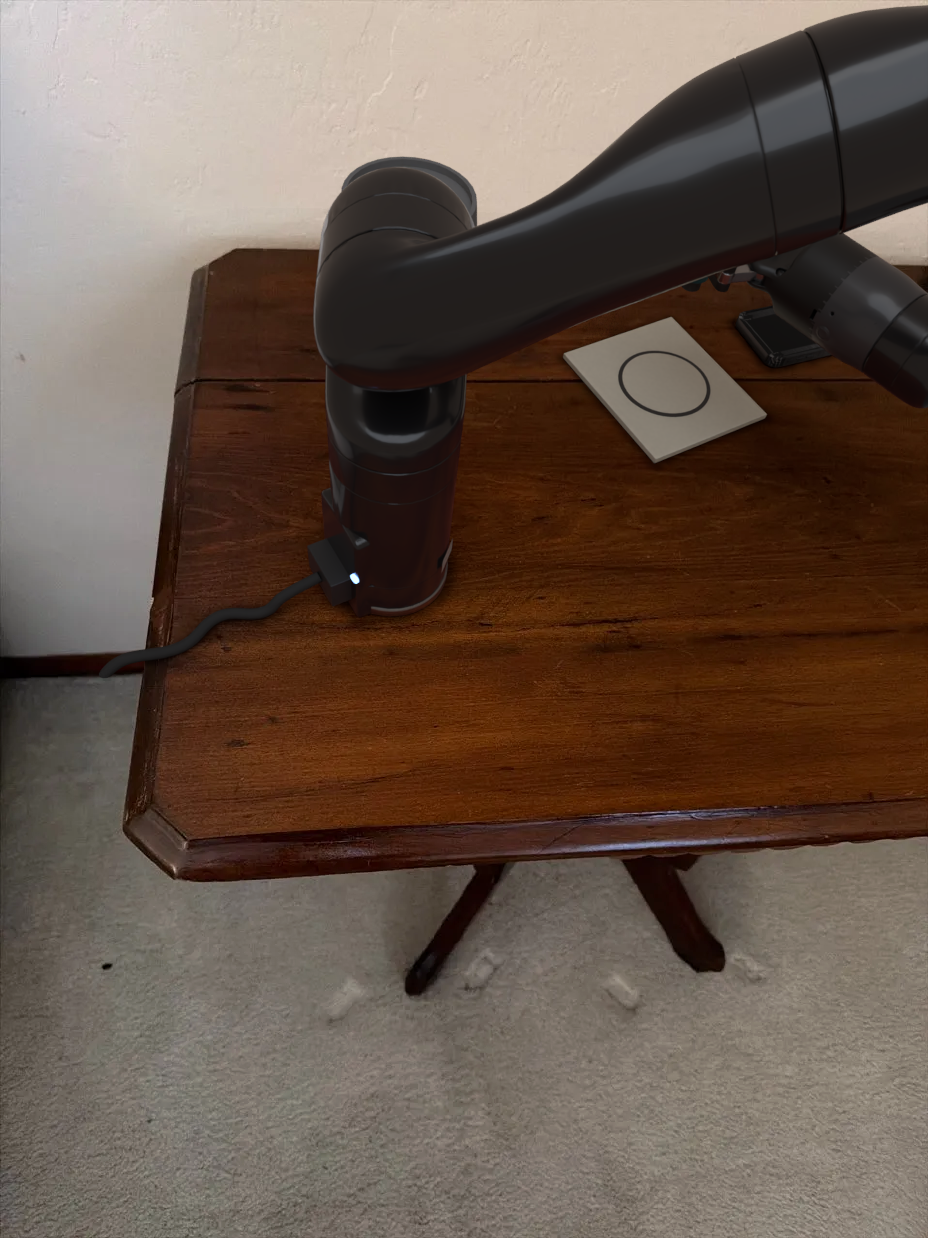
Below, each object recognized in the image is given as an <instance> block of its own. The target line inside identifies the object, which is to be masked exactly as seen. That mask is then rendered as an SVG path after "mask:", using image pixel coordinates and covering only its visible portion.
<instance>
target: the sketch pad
mask: <svg viewBox="0 0 928 1238" xmlns="http://www.w3.org/2000/svg"><path fill="white" fill-rule="evenodd" d="M562 359H563V360H564V361H565V362H566V363H567V364H568V366H569V367H570V368H571V369H572V371H574V373H575V374H576V375H577V376H578V377H579V378H580V379H581V381H582V382H583V383H584V384H585V385H586V386H587V388H588V389H589V390H590V391H591V392H592V393H593V395H594V396H595V397H596V398H597V399H598V400H599V402H601V404H602V405H603V406H604V407H605V408H606V410H608V412H609V413H610V414H611V416H613V417H614V419H615V420H616V421H617V422H618V423H619V425H621V426H622V428H623V429H624V430H625V431H626V433H627V434H628V435H629V436H630V437H631V438H632V440H634V442H635V443H636V444H637V445H638V446H639V447H640V449H641V450H642V451H643V452H644V453H645V454H646V455H647V457H648V458H649V459H650V460H651V462H652V463H653V464H656V463H659V462H661V461H663V460H666V459H669V458H671V457H673V456H676V455H678V454H681V453H683V452H686V451H688V450H692V449H694V448H695V447H698V446H700V445H703V444H706V443H708V442H711V441H713V440H715V439H718V438H720V437H722V436H725V435H728V434H731V433H733V432H735V431H737V430H740V429H742V428H745V427H747V426H750V425H752V424H755V423H757V422H759V421H762V420H764V419H766V417H767V415H768V414H767V413H766V412H765V410H764V409H763V408H762V407H761V406H760V405H758V404H757V402H756V401H755V400H754V399H753V398H752V397H751V396H750V395H749V394H748V393H747V392H746V391H745V390H744V389H743V388H742V387H741V385H739V384H738V383H737V382H736V381H735V380H734V379H733V378H732V377H731V376H730V375H729V374H728V373H727V372H726V371H725V369H724V368H723V367H721V366H720V364H718V362H717V361H716V360H714V358H713V357H712V356H710V355H709V353H708V352H707V351H705V350H704V348H703V347H702V346H701V345H700V344H699V343H698V342H697V341H696V340H695V339H694V338H693V337H692V336H691V335H690V334H689V333H688V331H686V330H685V329H684V327H682V326H681V325H680V324H679V323H678V322H677V321H676V320H675V319H674V317H672V316H670V317H667V318H663V319H660V320H658V321H655V322H652V323H649V324H645V325H643V326H639V327H637V328H634V329H632V330H628V331H626V332H622V333H619V334H617V335H614V336H611V337H608V338H605V339H602V340H599V341H596V342H593V343H591V344H587V345H584V346H582V347H579V348H576V349H573V350H569V351H567V352H564V353H563V355H562Z"/></svg>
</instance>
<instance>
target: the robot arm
mask: <svg viewBox="0 0 928 1238" xmlns="http://www.w3.org/2000/svg"><path fill="white" fill-rule="evenodd" d="M926 204H928V4H925V5H924V4H923V5H907V6H894V7H886V8H878V9H877V8H876V9H868V10H863V11H862V10H861V11H858V12H852V13H847V14H843V15H840V16H837V17H836V16H835V17H833V18H829V19H827V20H824V21H822V22H817V23H816V24H813V25H809V26H808V27H805V28H804V29H802V30H798V31H795V32H793V33H790V34H788V35H786V36H783V37H780V38H778V39H775V40H773V41H771V42H768V43H765V44H763V45H761V46H759V47H756V48H753V49H751V50H748V51H747V52H744V53H741V54H739V55H737V56H735V57H732V58H729V59H727V60H726V61H724V62H721V63H719V64H717V65H715V66H713V67H711V68H709V69H707V70H705V71H703V72H702V73H700V74H698V75H697V76H695V77H693V78H691V79H689V81H687V82H685V83H683V84H682V85H681V86H680V87H678V88H677V89H674V90H673V91H672V92H671V93H670V94H668V95H667V96H666V97H664V98H662V100H660V101H659V102H658V103H656V105H654V106H653V107H651V108H650V109H649V110H648V111H646V113H644V114H643V115H642V116H641V117H640V118H638V120H636V121H635V122H634V123H633V124H632V125H631V126H629V127H628V128H627V129H626V130H625V131H624V132H623V133H621V135H619V136H618V137H617V138H616V139H615V140H614V141H613V142H611V144H609V145H608V146H607V147H606V148H605V149H604V150H603V151H601V152H600V154H598V155H597V156H596V157H595V158H594V159H593V160H591V162H590V163H588V164H587V165H586V166H585V167H584V168H582V169H581V170H580V171H579V172H577V173H576V174H575V175H574V176H572V177H571V178H570V179H569V180H567V181H565V182H564V183H562V184H561V185H560V186H559V187H557V188H555V189H554V190H552V191H551V192H549V193H548V194H546V195H544V196H542V197H541V198H539V199H536V200H535V201H533V202H532V203H530V204H527V205H525V206H523V207H521V208H518V209H517V210H515V211H512V212H511V213H507V214H505V215H502V216H500V217H497V218H494V219H492V220H489V221H487V222H483V223H481V224H477V226H474V223H473V220H472V218H471V216H470V214H469V212H468V210H467V208H466V207H465V205H464V204H463V202H462V201H461V199H460V198H459V197H458V196H457V195H456V194H455V192H454V191H453V190H452V189H450V188H449V187H448V186H447V185H446V184H445V183H443V182H442V181H440V180H439V179H437V178H436V177H434V176H432V175H430V174H428V173H425V172H423V171H420V170H416V169H412V168H405V167H389V168H382V169H377V170H374V171H371V172H369V173H367V174H364V175H362V176H361V177H359V178H357V179H356V180H354V181H353V182H351V183H350V184H349V185H348V186H347V187H346V188H345V189H343V191H342V192H341V191H340V192H339V193H338V195H337V196H336V197H335V199H334V200H333V202H332V203H331V205H330V207H329V208H328V211H327V213H326V215H325V218H324V220H323V224H322V228H321V232H320V240H319V250H318V257H317V258H318V260H317V266H316V267H317V268H316V275H315V283H314V292H313V304H312V306H313V307H312V324H313V325H312V326H313V333H314V340H315V345H316V349H317V350H318V353H319V356H320V358H321V359H322V361H323V362H324V364H325V373H324V375H325V377H324V410H325V422H326V423H325V424H326V433H327V448H328V449H327V450H328V467H329V468H328V469H329V483H330V484H329V485H330V487H327V488H325V489H323V490H321V492H320V499H321V511H322V522H323V523H322V525H323V535H324V537H323V539H321V540H318V541H316V542H313V543H310V544H308V545H306V548H307V556H308V566H309V569H310V570H311V572H312V573H311V574H310V575H308V576H305V577H304V578H302V579H300V580H298V581H296V582H293V584H290V585H289V586H287V587H286V588H284V589H281V591H279V592H278V593H277V594H275V595H274V596H273V597H272V598H271V600H269V602H267V603H266V604H264V605H262V606H259V607H251V608H249V607H228V608H222V609H219V610H216V611H214V612H212V613H210V614H209V615H208V616H206V617H205V618H204V619H202V620H201V622H200V623H198V625H197V626H196V627H195V628H194V629H193V630H192V631H191V633H189V634H188V635H187V636H186V637H184V638H183V639H181V640H179V641H177V642H174V643H171V644H168V645H164V646H158V647H152V648H151V647H150V648H144V649H137V650H136V649H135V650H132V651H128V652H124V653H121V654H119V655H117V656H115V657H114V658H112V659H110V660H109V661H108V662H106V664H105V665H104V666H103V667H102V668H101V670H100V671H99V673H98V676H99V678H101V679H108V678H110V677H112V676H113V675H114V674H115V673H117V672H118V671H119V670H121V669H122V668H124V667H126V666H128V665H132V664H136V663H141V662H142V663H143V662H149V661H157V660H162V659H167V658H171V657H174V656H175V657H176V656H178V655H181V654H182V653H185V652H187V651H189V650H190V649H192V648H193V647H195V646H196V645H197V644H198V643H199V642H200V641H201V640H202V639H203V638H204V637H205V636H206V635H207V634H208V632H209V631H210V630H211V629H213V627H215V626H216V625H218V624H220V623H222V622H225V621H229V620H247V621H248V620H249V621H253V620H262V619H264V618H268V617H270V616H272V615H273V614H275V613H276V612H277V611H278V610H279V609H280V607H281V606H282V605H284V604H285V603H286V602H288V601H290V600H291V599H293V598H294V597H296V596H298V595H300V594H301V593H304V592H305V591H307V590H310V589H311V588H313V587H315V586H317V585H319V586H320V588H321V590H322V591H323V593H324V595H325V597H326V598H327V600H328V602H329V604H330V605H331V607H336V606H338V605H341V604H343V603H345V602H348V604H349V605H350V607H351V609H352V610H353V613H354V614H355V616H356V617H357V618H362V617H364V616H367V615H370V614H371V615H372V614H373V615H377V616H381V617H402V616H408V615H411V614H414V613H417V612H419V611H420V610H423V609H425V608H426V607H428V606H429V605H431V603H433V602H434V601H435V600H436V599H437V598H438V597H439V595H440V594H441V593H442V591H443V589H444V587H445V585H446V581H447V576H448V568H449V567H448V566H449V565H448V559H449V556H450V554H451V552H452V550H453V549H452V548H453V541H454V538H452V539H450V538H451V531H452V523H453V522H452V521H453V513H454V505H455V496H456V487H457V480H458V470H459V460H460V454H461V446H462V445H461V444H462V439H463V430H464V421H465V414H466V401H467V377H468V374H470V373H473V372H474V371H475V372H476V371H477V370H479V369H481V368H483V367H486V366H489V365H490V364H493V363H494V362H497V361H499V360H501V359H503V358H506V357H508V356H509V355H512V354H515V353H517V352H518V351H522V350H523V349H525V348H527V347H530V346H532V345H534V344H536V343H538V342H541V341H543V340H545V339H548V338H549V337H552V336H554V335H556V334H558V333H561V332H563V331H566V330H568V329H570V328H572V327H574V326H578V325H580V324H582V323H585V322H587V321H589V320H591V319H595V318H598V317H600V316H603V315H605V314H608V313H611V312H613V311H617V310H619V309H622V308H625V307H628V306H631V305H634V304H637V303H638V302H642V301H645V300H647V299H650V298H652V297H656V296H658V295H661V294H664V293H666V292H670V291H672V290H674V289H677V288H680V287H682V286H683V285H686V284H689V283H691V282H694V281H697V280H700V279H703V278H705V277H708V280H709V281H710V284H711V285H712V287H713V288H714V290H716V291H717V292H720V293H726V292H728V291H729V289H730V286H731V284H734V283H746V284H747V285H748V286H749V287H751V288H753V289H756V290H759V291H762V292H764V293H766V294H767V295H768V296H769V298H770V299H771V303H772V304H771V305H773V310H774V312H775V314H776V315H777V316H779V317H780V318H781V319H783V320H784V321H786V322H787V323H788V324H790V325H791V326H793V327H794V328H795V329H797V330H798V331H799V332H801V333H802V334H804V335H805V336H806V337H808V338H809V339H810V340H812V341H813V342H815V343H816V344H817V345H819V346H820V347H822V348H823V349H824V350H826V351H827V352H828V353H830V354H831V355H830V356H833V357H834V358H835V359H837V360H839V361H840V362H842V363H843V364H846V365H848V366H850V367H851V368H854V369H856V370H858V371H859V372H860V373H862V374H864V375H865V376H866V377H868V378H869V379H870V380H871V381H873V382H874V383H876V384H877V385H879V386H880V387H882V389H884V390H886V391H887V392H888V393H890V394H891V395H893V396H894V397H895V398H897V399H898V400H900V401H901V402H903V403H905V405H906V404H907V405H908V406H910V407H912V408H916V409H927V408H928V292H927V291H925V289H923V288H922V287H921V286H919V284H918V283H916V282H915V280H914V279H912V278H911V277H910V276H909V275H907V274H906V273H905V272H903V271H902V270H900V269H899V268H897V267H896V266H894V265H893V264H892V263H889V262H888V261H887V260H885V259H883V258H882V257H881V256H879V255H878V254H877V253H875V252H874V251H871V250H870V249H869V248H867V247H865V246H863V244H861V243H859V242H858V241H856V240H854V239H853V238H852V237H850V236H848V235H847V234H845V233H848V232H851V231H853V230H856V229H858V228H861V227H864V226H867V225H869V224H872V223H874V222H875V223H876V222H878V221H880V220H882V219H885V218H889V217H890V216H893V215H896V214H899V213H902V212H904V211H908V210H911V209H914V208H916V207H920V206H923V205H926ZM450 540H451V542H450Z"/></svg>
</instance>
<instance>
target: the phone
mask: <svg viewBox="0 0 928 1238" xmlns="http://www.w3.org/2000/svg"><path fill="white" fill-rule="evenodd" d="M735 328H736V329H737V331H738V332H739V333H740V334H741V336H743V338H744V340H745V341H746V342H747V343H748V344H749V346H750V347H751V348H752V350H753V351H754V352H755V354H757V356H758V357H759V358H760V359H761V361H762V362H763V363H764V364H765V365H766V366H768V367H771V368H781V367H786V366H790V365H794V364H798V363H803V362H807V361H812V360H816V359H820V358H825V357H829V356H832V355H831V354H830V353H828V352H827V351H826V350H824V349H823V348H822V347H820V346H819V345H817V344H816V343H815V342H813V341H812V340H810V339H809V338H808V337H806V336H805V335H804V334H802V333H801V332H799V331H798V330H797V329H795V328H794V327H793V326H791V325H790V324H788V323H787V322H786V321H784V320H783V319H781V318H780V317H779V316H777V315H776V314H775V312H774V310H773V304H771V305H767V306H764V307H758V308H754V309H749V310H745V311H741V312H739V314H738V317H737V319H736V322H735Z"/></svg>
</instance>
